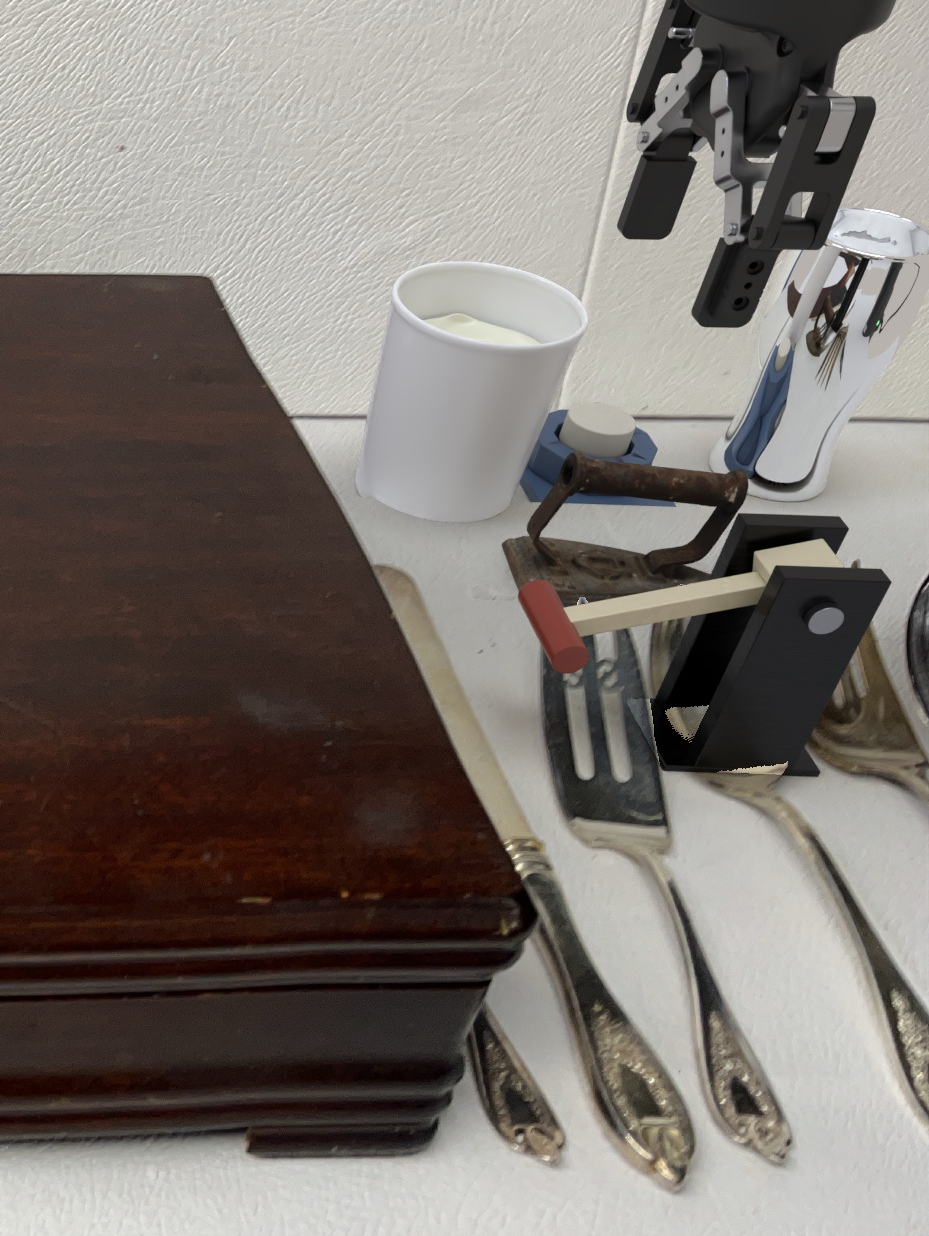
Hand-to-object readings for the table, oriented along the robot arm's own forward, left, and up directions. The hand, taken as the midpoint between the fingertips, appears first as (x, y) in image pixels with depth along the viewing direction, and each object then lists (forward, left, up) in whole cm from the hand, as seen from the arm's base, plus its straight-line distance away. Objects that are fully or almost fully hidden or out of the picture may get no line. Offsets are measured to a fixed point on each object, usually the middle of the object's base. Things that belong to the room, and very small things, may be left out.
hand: (677, 277), depth 78 cm
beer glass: (-18, -17, -20) cm, 32 cm away
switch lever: (-1, +9, -13) cm, 15 cm away
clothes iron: (-5, -4, -20) cm, 21 cm away
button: (-7, -16, -18) cm, 25 cm away
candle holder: (+2, -13, -20) cm, 24 cm away
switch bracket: (-5, +8, -20) cm, 22 cm away
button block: (-7, -16, -20) cm, 27 cm away
